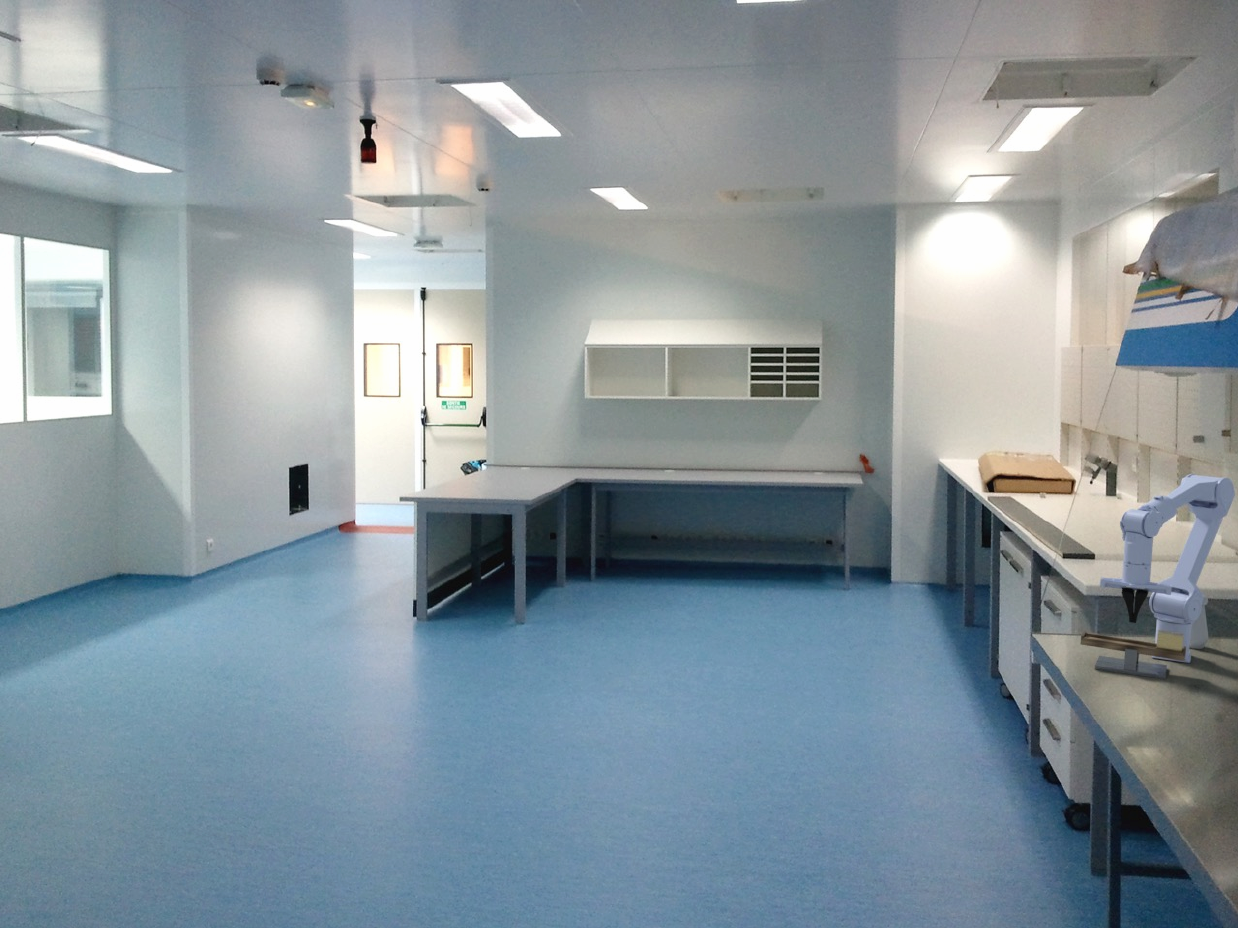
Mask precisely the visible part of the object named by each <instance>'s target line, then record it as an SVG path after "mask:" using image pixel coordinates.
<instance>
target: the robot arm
mask: <svg viewBox="0 0 1238 928" xmlns="http://www.w3.org/2000/svg"><path fill="white" fill-rule="evenodd" d="M1235 496H1236V494H1235V485H1234V483H1233V481H1232V480H1231V479H1230V478H1229V477H1218V476H1217V477H1216V476H1206V475H1199V474H1198V475H1197V474H1195V473H1190V474H1187V475H1186V476H1185V477H1182V479H1181V482H1180V485H1179V486H1178V487H1176V488H1175V489H1174V490H1173V491H1171V492H1170V493H1169V494H1167V495H1159V494H1155V495H1154V496H1153V498H1152V499H1151V500H1150V501H1148V502H1146V503H1145V504H1144V503H1143V504H1142V505H1141V506H1140V507H1139V508H1137V509H1135V508H1131V509H1129V510H1126V511H1125V512H1124V513H1123V514H1122V516H1121V520H1120V521H1119V527H1120V530H1121V531H1122V532H1121V533H1122V541H1124V547H1123V548H1124V549H1123V559H1122V560H1123V561H1122V562H1123V563H1122V576H1121V577H1122V578H1114V577H1113V578H1112V577H1111V578H1110V577H1101V578H1100V583H1099V588H1111V589H1120V590H1121V595H1122V598H1123V601H1124V603H1125V605H1126V609H1127V613H1128V622H1129V623H1131V624H1132V623H1133V624H1136V623H1137V622H1138V615H1139V613H1140V610H1141V608H1142V606H1143V604H1144V602H1145V600H1146V599H1147V598H1148V596H1149V593H1151V595H1150V596H1149V597H1150V598H1149V600H1148V601H1149V609H1150V611H1151V613H1152V614H1153V617H1154V618H1156V625H1155V626H1156V628H1155V638H1154V640H1155V641H1154V643H1157V637H1158V630H1164V631H1170V632H1177V633H1184V637H1183V646H1182V647H1183V648H1184V646H1186V654H1185V661H1181V660H1174V659H1168V658H1162V657H1156V656H1151V658H1152V659H1160V660H1165V661H1166V660H1167V661H1174V662H1179V663H1187V664H1189V663H1191V659H1192V658H1191V657H1192V652H1190V648H1189V647H1190V634H1191V623H1194V622H1195V620H1197V618H1198V617H1199V616H1200V614H1201V610H1202V601H1203V598H1204V595H1205V594H1203V591H1201V589H1200V588H1199V586H1198V585H1197V583H1198V581H1199V579H1200V577H1201V573H1202V571H1203V568H1204V566H1205V565H1206V564H1205V563H1206V561H1207V558H1208V556H1209V555H1210V554H1209V553H1210V551H1211V549H1212V548H1213V547H1212V546H1213V543H1214V542H1215V539H1216V537H1217V534H1218V531H1219V529H1220V526H1221V524H1222V521H1223V518H1225V517H1227V516H1228V513H1229V510H1230V508H1231V505H1232V503H1233V501H1234V499H1235ZM1185 505H1186V506H1187V508H1188V509H1189V511H1190V512H1191V513H1193V514H1194V515H1195V519H1194V522H1193V525H1192V528H1191V530H1190V532H1189V534H1188V537H1187V539H1186V541H1185V544H1184V547H1183V548H1182V552H1181V554H1180V557H1179V559H1178V560H1177V561H1178V562H1177V564H1176V566H1175V569H1174V571H1173V574H1172V576H1170V577H1167V578H1166V579H1165V578H1164V579H1163V580H1161V581H1159V583H1158V582H1152V581H1151V572H1152V559H1153V548H1154V547H1153V546H1154V545H1153V543H1154V537H1156V536H1157V535H1158V534H1159V532H1160V529H1161V528H1162V527H1163V526H1164V524H1165V523H1167V522H1168V521H1170V520H1171V519H1173V518H1174V517H1175V516H1177V513H1178V509H1179V508H1182V507H1184V506H1185Z"/></svg>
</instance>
